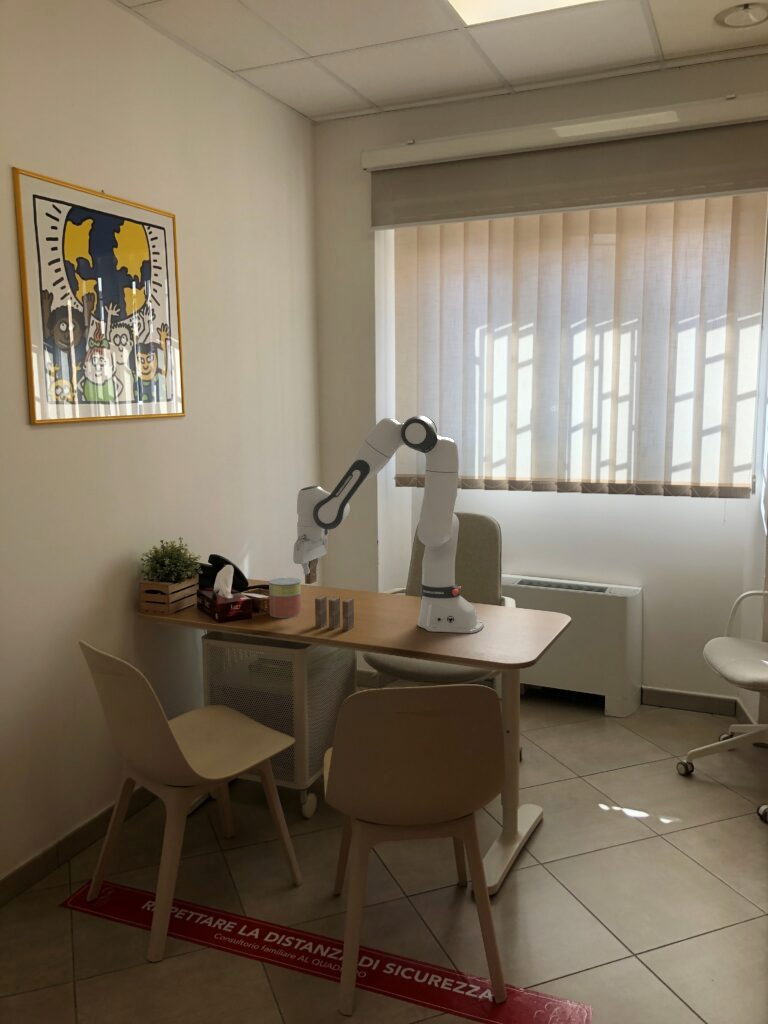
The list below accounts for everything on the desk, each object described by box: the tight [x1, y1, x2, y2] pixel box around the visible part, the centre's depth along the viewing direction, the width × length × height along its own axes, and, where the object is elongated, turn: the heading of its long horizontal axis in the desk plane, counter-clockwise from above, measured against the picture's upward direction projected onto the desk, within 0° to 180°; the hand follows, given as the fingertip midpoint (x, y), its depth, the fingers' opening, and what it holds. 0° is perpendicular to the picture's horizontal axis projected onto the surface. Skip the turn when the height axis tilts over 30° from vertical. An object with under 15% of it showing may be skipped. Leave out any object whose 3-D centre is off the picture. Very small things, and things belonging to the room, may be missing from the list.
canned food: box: [268, 577, 302, 619], centre depth 308 cm, size 11×11×12 cm
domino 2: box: [314, 595, 328, 629], centre depth 291 cm, size 2×5×10 cm, turn 160°
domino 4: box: [341, 597, 355, 632], centre depth 288 cm, size 2×5×10 cm, turn 160°
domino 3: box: [328, 596, 341, 630], centre depth 290 cm, size 2×5×10 cm, turn 160°
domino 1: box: [304, 559, 318, 585], centre depth 298 cm, size 2×5×10 cm, turn 159°
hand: (310, 572), depth 298 cm, fingers closed on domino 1, 5 cm apart
